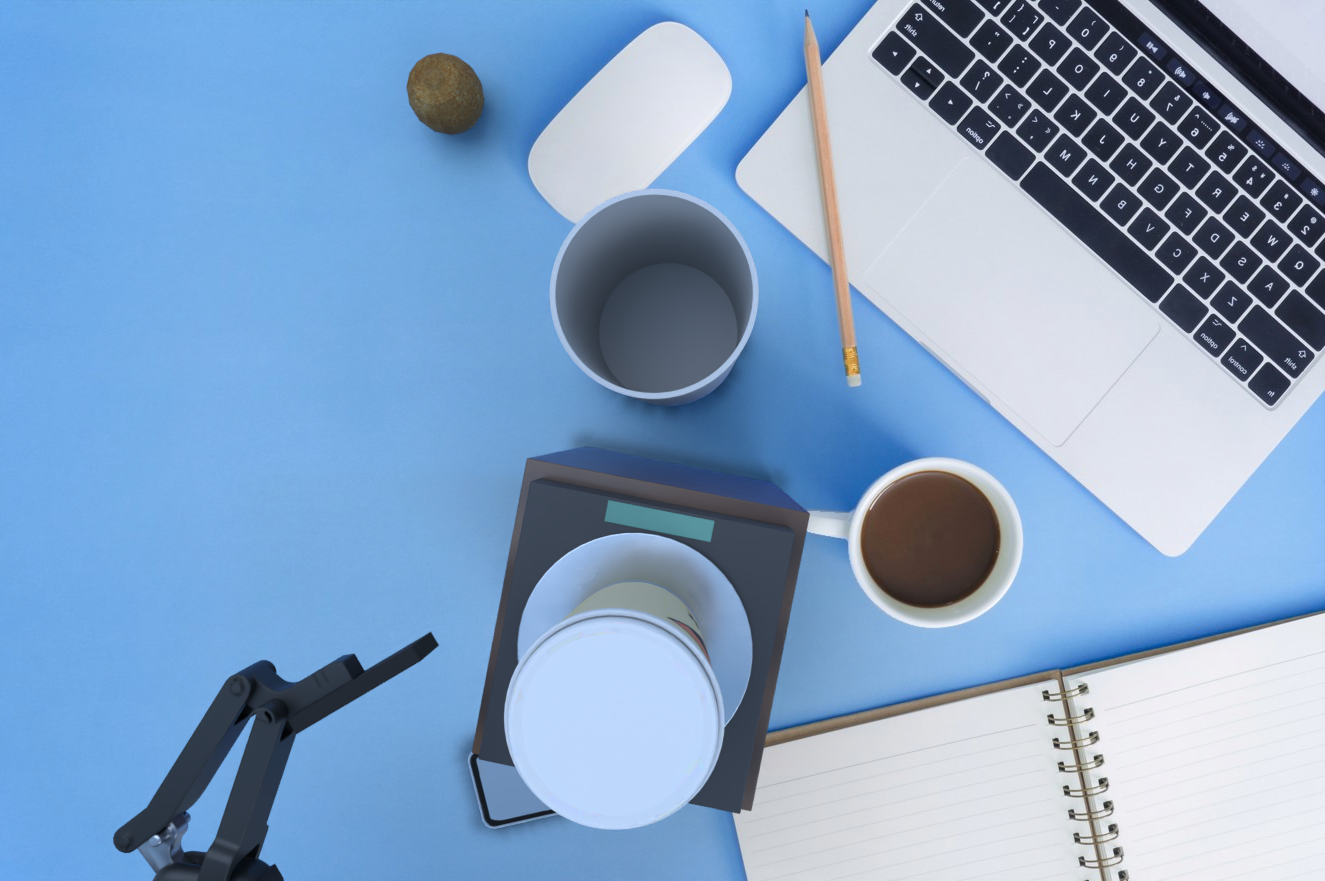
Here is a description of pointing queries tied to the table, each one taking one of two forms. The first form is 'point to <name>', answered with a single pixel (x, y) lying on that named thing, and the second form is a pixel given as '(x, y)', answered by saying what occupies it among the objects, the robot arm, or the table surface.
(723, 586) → the scale pan
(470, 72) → the fruit
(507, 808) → the smartphone
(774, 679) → the dark grey tall block
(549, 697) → the coffee cup
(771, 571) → the scale
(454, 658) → the table surface
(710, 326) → the cylinder vase
